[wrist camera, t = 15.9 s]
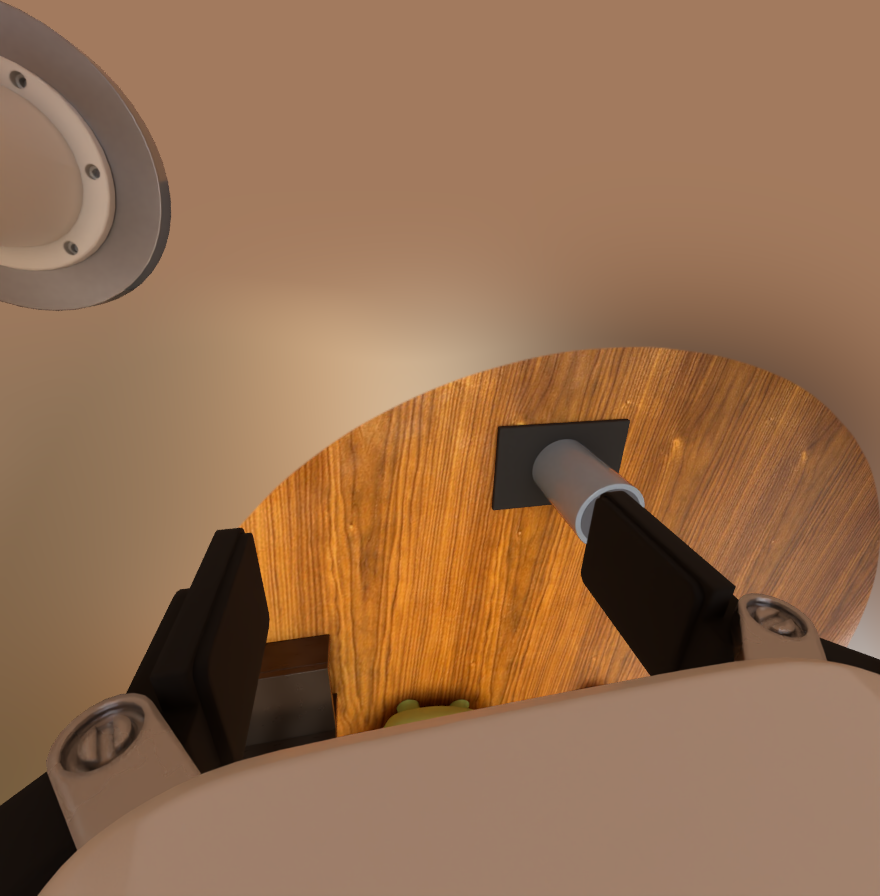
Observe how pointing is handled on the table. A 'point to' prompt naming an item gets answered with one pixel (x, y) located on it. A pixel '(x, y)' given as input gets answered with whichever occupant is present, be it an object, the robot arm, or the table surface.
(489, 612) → the table surface
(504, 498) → the mat
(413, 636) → the table surface
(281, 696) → the shelf
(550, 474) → the blue cup
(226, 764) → the robot arm
